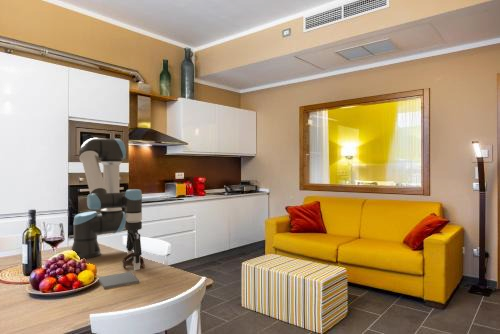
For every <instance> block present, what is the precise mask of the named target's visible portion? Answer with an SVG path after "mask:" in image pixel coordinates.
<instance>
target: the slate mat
mask: <svg viewBox="0 0 500 334" xmlns="http://www.w3.org/2000/svg"><path fill="white" fill-rule="evenodd" d="M98 278H99V281H98V282H99V284H100V285H101V286H102V288H103V289H104V290H107V289H113V288H118V287H123V286H128V285H134V284H139V283H140V282H141V281H140V279H139V278H138V277H137V276H136V275H135V274H134V273H133V272H132V271H127V272H121V273H115V274H107V275H103V276H97V279H98Z"/></svg>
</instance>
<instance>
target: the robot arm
mask: <svg viewBox="0 0 500 334" xmlns="http://www.w3.org/2000/svg"><path fill="white" fill-rule="evenodd" d="M126 151H127V150H126V145H125V143H124V141H123V140H122V139H119V138H104V137H103V138H101V137H93V138H92V137H91V138H89V139H86V140H85V141H83V143H82V144H81V145H80V148H79V151H78V158H79V162H80V163H82V166H83V171H84V174H85V178H86V181H87V187H88V190H89V194H88V195H87V196H86V206H87V208H88V209H89V210H93V211H85V212H80V213H78V214H75V216H74V217H73V223H72V224H73V243H72V245H71V249H70V251H71V250H73V251H75V252H76V253H77V255H78V256H79V257H80V258H81V259H90V258H94V257H98V256H99V255H101V248H100V245H99V242H98V235H106V234H107V235H108V234H116V233H121V232H123V231H124V229H125V230H126V231H127V236H126V237H127V238H126V247H125V248H126V250H127V255H129V254H130V253H133V252H134V255H133V257H134V261H132V265H133V270H134V271H138V270H141V264H140V256H142V255H143V254H142V244H141V242H142V241H141V234H140V233H139V231H140V230H142V229H143V226H142V225H143V224H142V221H143V212H142V211H143V210H142V209H143V205H142V204H143V194H142V190H141V189H137V188H134V189H133V188H132V189H126V191H121V192H120V165H121V164H122V163H123V160H124V159H126V156H127V155H126V154H127V152H126ZM99 160H100V163H101V164H102V167H103V168H102V170H101V167H100V164H99ZM102 171H103V174H102ZM123 208H125V211H123ZM94 210H95V211H94ZM96 210H100V213H98V212H97V211H96ZM130 258H132V256H131V257H130ZM130 258H129V259H130ZM129 259H127V260H129Z"/></svg>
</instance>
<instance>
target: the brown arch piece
mask: <svg viewBox="0 0 500 334" xmlns="http://www.w3.org/2000/svg"><path fill="white" fill-rule="evenodd" d="M133 255H134V252H133V253H130V254H129V255H128V254H127V255H126V256H125V257H124V258H123V259H122V267H123V268H124V269H125V268H126V267H128V266H133V264H132V261H134V257H133ZM131 256H132V258H130V257H131ZM129 258H130V259H129ZM128 259H129V260H128ZM140 266H142V268H143V269H144V268H145V267H146V265H145V260H144V259H143V257H142V255H140Z"/></svg>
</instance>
